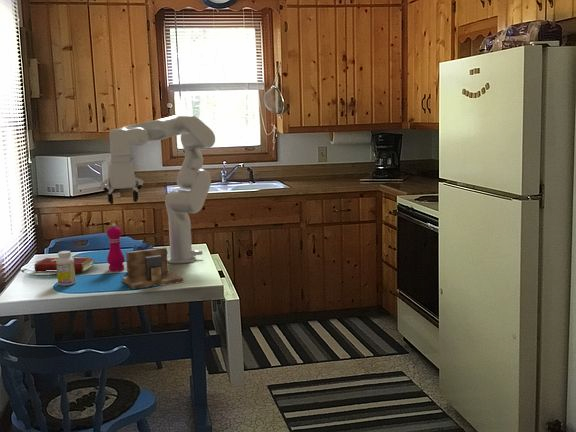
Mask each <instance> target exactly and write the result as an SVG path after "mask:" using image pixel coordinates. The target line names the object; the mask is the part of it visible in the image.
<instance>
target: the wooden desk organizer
mask: <svg viewBox="0 0 576 432" xmlns="http://www.w3.org/2000/svg"><path fill="white" fill-rule="evenodd" d="M131 251H132V252H131ZM131 251H126V252H125V254H126V255H125V257H126V259H125V260H126V271H127V272H126V274H127V276H122V280H123V281H124V284H126V285H127V284H128V285H129V286H128V285H127V286H128V287H130V288H131V290H137V289H136V288H139V289H144V288H143V287H146V288H150V287H149V286H152V287H155V286H154V285H159V286H162V285H161V284H166V285H170V283H172V284H177V283H176V282H179V283H184V278H183V277H182V276H180V275H179V274H177V273H175V272H174V271H172V270H169V266H168V262H167V259H168V249H167V247H158V248H157V247H156V248H153V249H148V250H140V251H133V250H131ZM156 255H160V256H162V272H163V279H162V276H161V267H156V268H151V280H150V281H148V280H146V271H145V257H148V256H156ZM122 280H121V281H122ZM123 281H122V282H123Z"/></svg>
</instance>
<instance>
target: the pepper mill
mask: <svg viewBox="0 0 576 432" xmlns="http://www.w3.org/2000/svg"><path fill="white" fill-rule="evenodd" d="M121 229H122V228H120V227H117V224H116V223H115V222H113V223H112V224H111V227H108V229H107V231H106V236H107V237H108V242H109V251H108V254H107V258H106V260H107V261H106V262H107V263H108V264H109V266H108V270H109V271H110V272H120V271H124V269H125V265H124V264H123V263H125V260H126V259H125V256H124V255H125V254H124V253H123V251H122V248H121V241H122V240H121V237H122V230H121Z"/></svg>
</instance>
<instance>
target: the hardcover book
mask: <svg viewBox="0 0 576 432" xmlns="http://www.w3.org/2000/svg"><path fill="white" fill-rule="evenodd" d="M72 258H73V259H74V267H75V273H84V271H86V270H88V269H89V268H91V267H92V266H93V261H92V260H94V259H93V257H72ZM57 259H59V257H45V258H43V259H41V260H40V261H37V262H35V263H34V272H35V271H46V270H57V265H56V261H57ZM90 263H91V265H90Z"/></svg>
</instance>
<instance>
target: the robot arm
mask: <svg viewBox="0 0 576 432" xmlns="http://www.w3.org/2000/svg"><path fill="white" fill-rule="evenodd" d="M108 135H109V147H110V148H109V149H110V150H109V151H110V163H108V170H107V171H108V175H107V177H108V178H107V179H105V180H104V181H102V182H100V183H99V185H100V187H101V188H102V190H103V191H104V192H105V193H106V194H107V201H108V203H109V205H114V196H113V195H114V194H113V191H114V190H119V189H132V190H133V191H132V200H133V202H134V203H138V200H139V191H140V189H142V186H143V184H144V182H145V181H144V180H143V179H141V178H139V177H137V176H136V173H135V169H134V165H133V162H132V161H133V160H135V157H134V156H133V155H131V147H140V146H144V145H146V144H147V142H148V141H151V142H152V141H161V140H166V139H168V138H173V137H175V136H180V142H181V145H182V148H183V150H184V160H183V163H182V164H181V167H180V170H179V172H178V175H177V178H176V185H177V186H178V188H179V189H174V190H171V191H169V192H168V193H167V194H166V196H165V198H164V199H165V200H164V201H165V203H164V204H165V208H166V212H167V217H168V233H169V234H168V235H169V253H170V257H167V263H169V264H173V265H174V264H175V265H177V264H178V265H181V264H188V263H189V264H190V263H193V262H196V258H197V257H196V256H202V255H203V250H194V249H193V248H192V227H191V226H192V225H191V224H192V223H191V219H190V216H189V214H196V213H199V212H200V211H201V210H202V208H203V207H204V205H205V204H204V203H205V201H206V198H207V196H208V195H209V194H208V193H209V191H210V187H211V184H212V177H211V174H210V172H209V171H208V170H206V169H203V165H204V157H203V153H202V151H201V149H210V148H212V147H213V146H214V145H215V143H216V136H215V133H214V131H213V130H212V129H211V128H210V127H209V126H208V125H207V124H206V123H205V122H204V121H202V120H201V119H199V118H198V117H197V116H195V115H193V114H176V115H171V116H167V117H163V118H158V119H155V120H153V119H152V120H149V121H144V122H139V123H134V124H130V125H125V126H121V127H120V128H112V129H110V130H109V134H108ZM136 182H138V184H137V186H136ZM107 184H108V187H109V188H107V186H106V185H107ZM181 189H182V190H181Z"/></svg>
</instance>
